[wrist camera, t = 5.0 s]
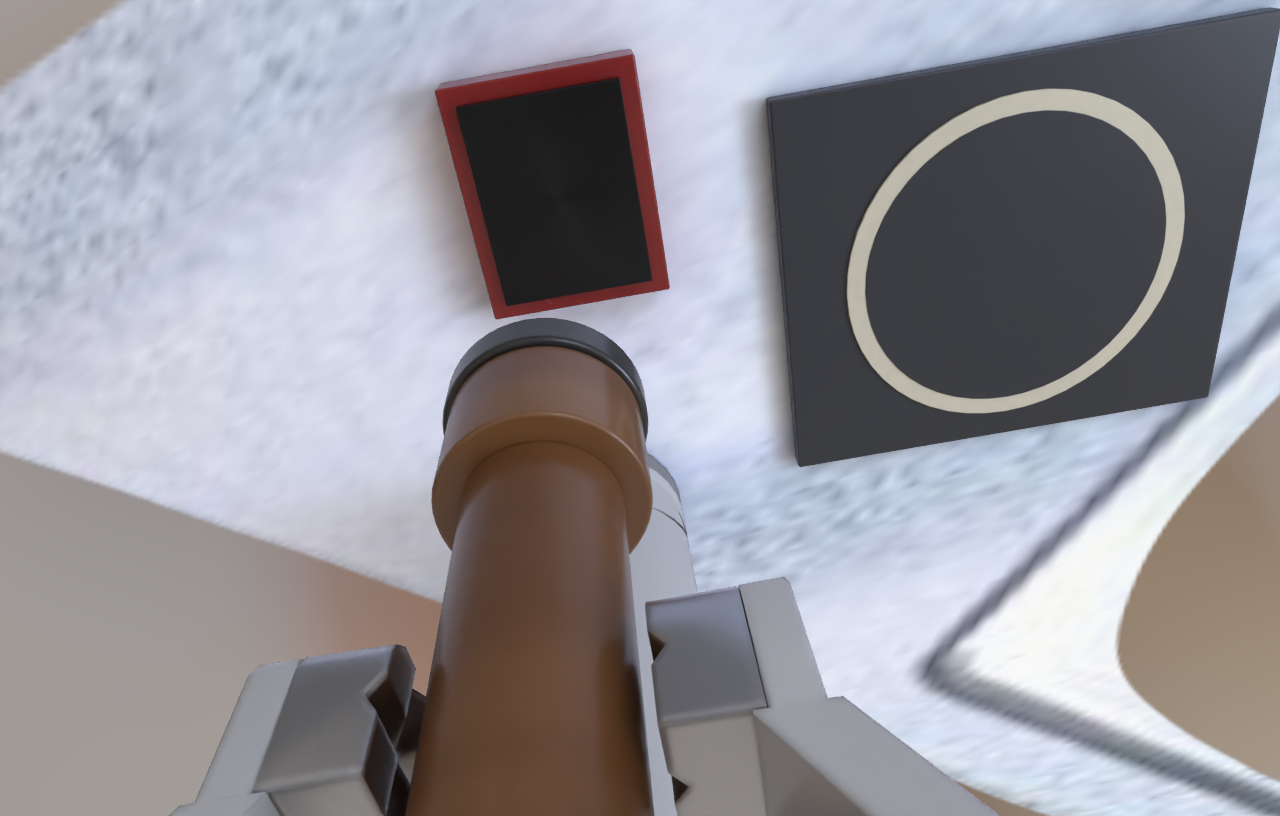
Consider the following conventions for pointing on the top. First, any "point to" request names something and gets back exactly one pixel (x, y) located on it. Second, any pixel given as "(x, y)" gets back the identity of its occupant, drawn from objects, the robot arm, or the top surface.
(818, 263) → the dark grey square plate
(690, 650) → the robot arm
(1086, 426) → the top surface
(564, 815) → the dot stamp
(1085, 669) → the top surface
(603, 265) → the ink pad
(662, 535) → the travel mug
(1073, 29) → the top surface
